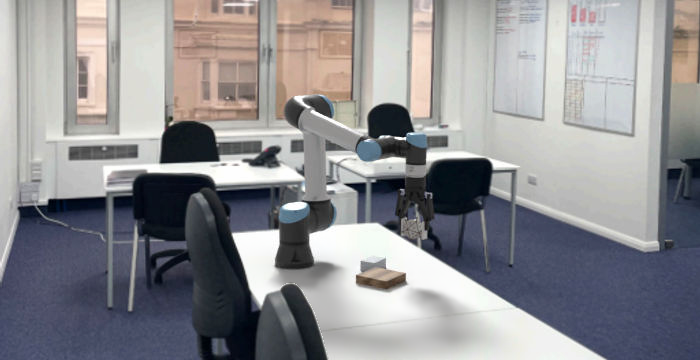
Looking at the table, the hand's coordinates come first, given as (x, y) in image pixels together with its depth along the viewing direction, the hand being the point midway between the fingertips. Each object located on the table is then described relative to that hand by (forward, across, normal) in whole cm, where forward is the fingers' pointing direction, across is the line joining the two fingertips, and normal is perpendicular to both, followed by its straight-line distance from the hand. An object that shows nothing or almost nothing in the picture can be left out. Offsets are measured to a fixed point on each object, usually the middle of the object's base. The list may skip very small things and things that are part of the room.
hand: (413, 237), depth 297 cm
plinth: (+15, -6, -13) cm, 21 cm away
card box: (+15, -18, 0) cm, 23 cm away
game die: (+1, 0, 0) cm, 1 cm away
